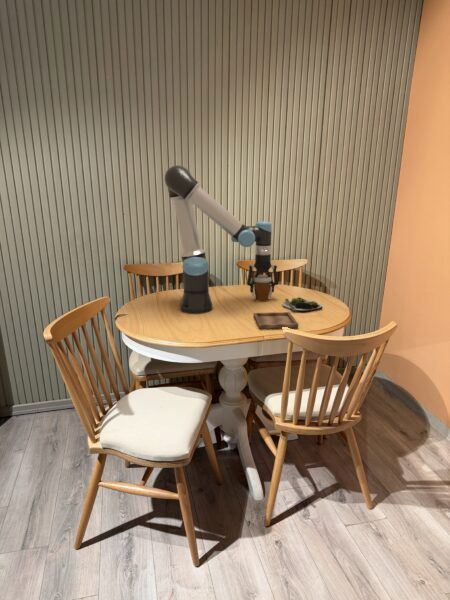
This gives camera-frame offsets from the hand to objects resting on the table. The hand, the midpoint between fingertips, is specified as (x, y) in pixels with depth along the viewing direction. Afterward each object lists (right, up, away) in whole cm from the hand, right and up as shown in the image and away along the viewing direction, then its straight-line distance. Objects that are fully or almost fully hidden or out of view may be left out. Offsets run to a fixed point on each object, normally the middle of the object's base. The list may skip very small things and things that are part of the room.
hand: (261, 298), depth 209 cm
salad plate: (+18, -5, -12) cm, 22 cm away
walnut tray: (+3, -10, -33) cm, 35 cm away
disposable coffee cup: (0, -1, 0) cm, 1 cm away
